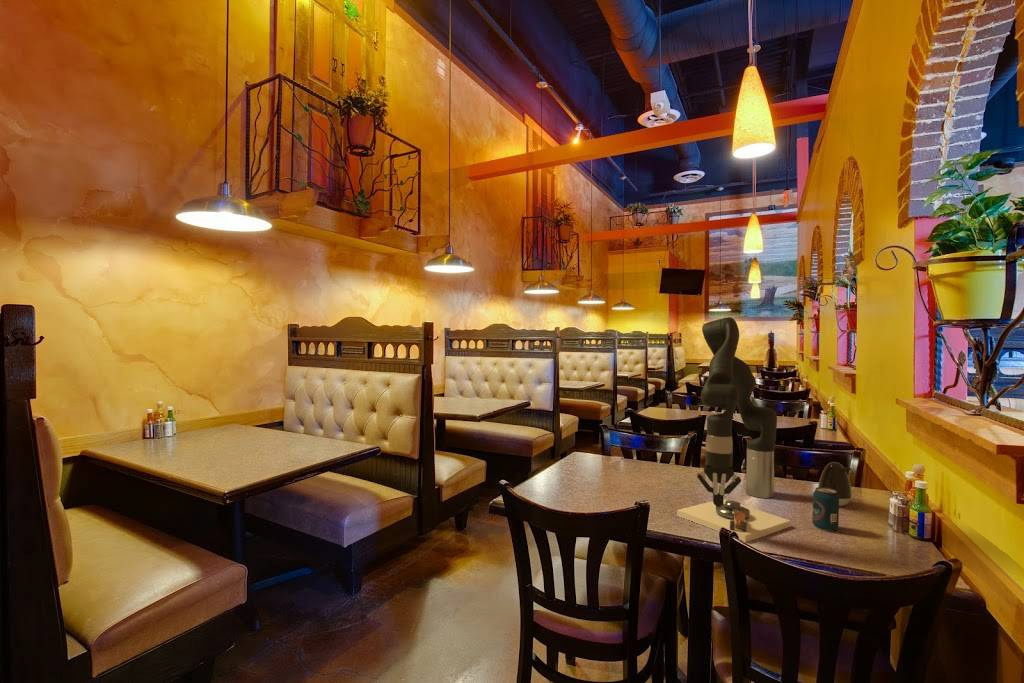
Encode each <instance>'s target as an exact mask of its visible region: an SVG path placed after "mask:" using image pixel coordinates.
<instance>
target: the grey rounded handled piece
mask: <svg viewBox="0 0 1024 683" xmlns="http://www.w3.org/2000/svg"><path fill="white" fill-rule="evenodd" d="M740 505H741V503H740V502H739V501H736V500H728V501H725V504H723V505H721V507H716V513H717V514H719V515H721V516H723V517H727V518H731V519H733V521H734V526H735V527H738V528H742V522H745V519H748V518H749V517H750V511H749V510H748V509H747V508H745V507H742V506H740Z"/></svg>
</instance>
